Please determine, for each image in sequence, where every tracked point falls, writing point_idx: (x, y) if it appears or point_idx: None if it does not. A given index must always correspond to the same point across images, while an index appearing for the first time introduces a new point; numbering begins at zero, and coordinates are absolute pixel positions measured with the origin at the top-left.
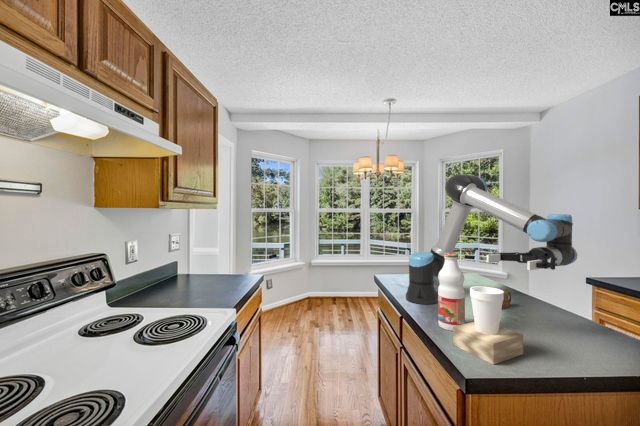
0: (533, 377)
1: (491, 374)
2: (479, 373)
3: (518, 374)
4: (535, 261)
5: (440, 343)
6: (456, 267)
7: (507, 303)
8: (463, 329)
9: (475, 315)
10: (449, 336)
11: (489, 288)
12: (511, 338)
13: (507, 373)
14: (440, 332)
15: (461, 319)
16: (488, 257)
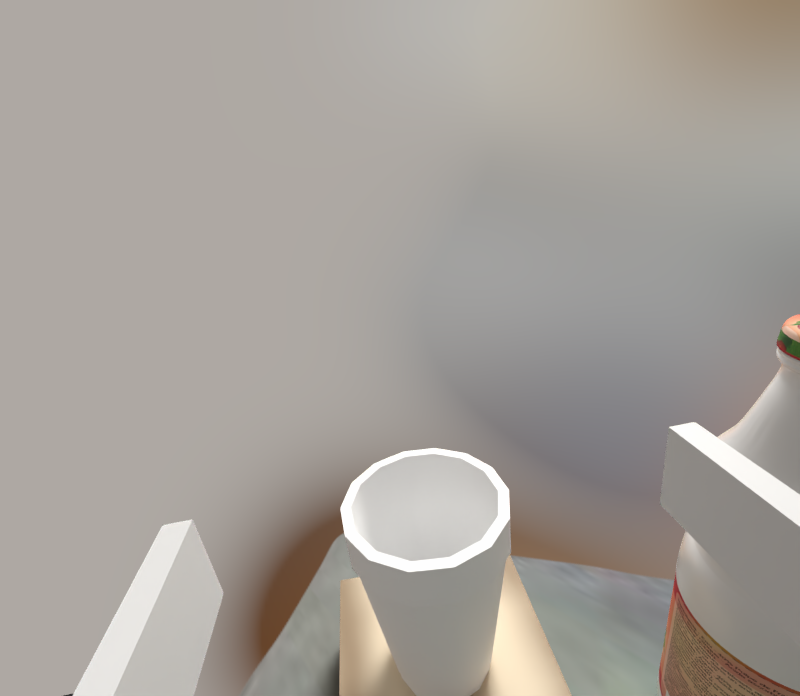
0: (241, 692)
1: (320, 583)
2: (338, 559)
3: (278, 658)
4: (105, 647)
5: (524, 567)
6: (762, 433)
7: None
8: None
9: (443, 549)
10: (590, 635)
11: (468, 550)
12: (339, 694)
13: (300, 629)
14: (636, 624)
15: None
16: (667, 452)
